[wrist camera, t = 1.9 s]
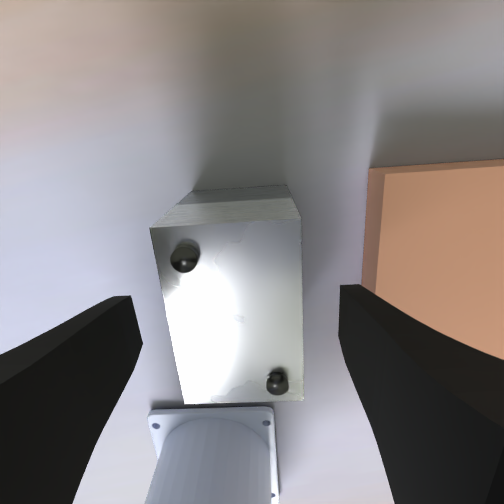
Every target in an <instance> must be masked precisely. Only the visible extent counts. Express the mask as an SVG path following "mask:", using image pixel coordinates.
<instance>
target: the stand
mask: <svg viewBox="0 0 504 504" xmlns="http://www.w3.org/2000/svg"><path fill="white" fill-rule="evenodd" d="M361 286H363V287H365V288H366V289H368V290H369V291H371V292H373V293H374V294H376V295H377V296H379V297H380V298H382V299H383V300H385V301H387V302H388V303H390V304H391V305H393V306H394V307H396V308H398V309H399V310H401V311H403V312H404V313H406V314H408V315H409V316H411V317H413V318H414V319H416V320H418V321H420V322H422V323H423V324H425V325H427V326H429V327H431V328H433V329H434V330H436V331H438V332H440V333H442V334H444V335H446V336H449V337H451V338H453V339H455V340H457V341H459V342H462V343H464V344H466V345H468V346H470V347H473V348H475V349H477V350H480V351H482V352H485V353H487V354H490V355H492V356H495V357H498V358H500V359H503V360H504V159H495V160H481V161H466V162H452V163H438V164H423V165H409V166H395V167H380V168H369V174H368V190H367V206H366V221H365V237H364V253H363V268H362V284H361Z"/></svg>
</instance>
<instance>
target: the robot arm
mask: <svg viewBox="0 0 504 504" xmlns="http://www.w3.org/2000/svg"><path fill="white" fill-rule="evenodd" d="M338 336H339V340H340V344H341V348H342V352H343V356H344V360H345V363H346V366H347V368H348V371H349V373H350V376H351V378H352V381H353V383H354V386H355V388H356V390H357V393H358V395H359V398H360V400H361V403H362V405H363V408H364V410H365V412H366V415H367V417H368V420H369V422H370V425H371V427H372V430H373V433H374V436H375V438H376V441H377V445H378V448H379V451H380V455H381V458H382V461H383V465H384V468H385V471H386V475H387V478H388V482H389V485H390V489H391V492H392V496H393V499H394V503H395V504H504V360H503V359H500V358H498V357H495V356H492V355H490V354H487V353H485V352H482V351H480V350H477V349H475V348H473V347H470V346H468V345H466V344H464V343H462V342H459V341H457V340H455V339H453V338H451V337H449V336H446V335H444V334H442V333H440V332H438V331H436V330H434V329H433V328H431V327H429V326H427V325H425V324H423V323H422V322H420V321H418V320H416V319H414V318H413V317H411V316H409V315H408V314H406V313H404V312H403V311H401V310H399V309H398V308H396V307H394V306H393V305H391V304H390V303H388V302H387V301H385V300H383V299H382V298H380V297H379V296H377V295H376V294H374V293H373V292H371V291H369V290H368V289H366V288H365V287H363V286H361V285H359V284H354V285H340V305H339V332H338ZM142 345H143V342H142V338H141V334H140V330H139V326H138V322H137V318H136V314H135V310H134V306H133V302H132V298H131V296H114V297H111V298H109V299H106V300H104V301H102V302H100V303H98V304H96V305H95V306H93V307H91V308H89V309H87V310H85V311H84V312H82V313H80V314H78V315H76V316H75V317H73V318H71V319H69V320H67V321H66V322H64V323H62V324H60V325H58V326H57V327H55V328H53V329H51V330H49V331H47V332H45V333H43V334H41V335H39V336H37V337H35V338H34V339H32V340H30V341H28V342H26V343H24V344H22V345H20V346H18V347H16V348H14V349H11V350H9V351H7V352H5V353H3V354H1V355H0V504H72V503H73V500H74V498H75V495H76V492H77V490H78V487H79V484H80V482H81V479H82V477H83V474H84V472H85V469H86V467H87V464H88V462H89V459H90V457H91V455H92V452H93V450H94V447H95V445H96V443H97V441H98V439H99V437H100V434H101V432H102V430H103V428H104V427H105V425H106V423H107V421H108V419H109V417H110V415H111V413H112V411H113V409H114V407H115V405H116V404H117V402H118V400H119V398H120V396H121V394H122V392H123V390H124V388H125V386H126V384H127V382H128V380H129V378H130V377H131V374H132V372H133V370H134V368H135V365H136V363H137V360H138V357H139V354H140V351H141V348H142ZM265 420H267V421H265ZM147 421H148V425H149V429H150V433H151V436H152V440H153V444H154V447H155V451H156V455H157V459H158V462H157V466H156V469H155V472H154V475H153V478H152V482H151V485H150V488H149V491H148V494H147V497H146V501H145V504H279V487H278V472H277V456H276V440H275V424H274V411H273V409H272V408H270V407H266V406H263V407H229V408H195V409H161V410H152V411H150V412H149V414H148V417H147Z"/></svg>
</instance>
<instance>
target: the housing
mask: <svg viewBox="0 0 504 504" xmlns="http://www.w3.org/2000/svg"><path fill="white" fill-rule="evenodd" d="M149 229H150V234H151V239H152V244H153V249H154V254H155V259H156V264H157V269H158V274H159V279H160V284H161V289H162V293H163V298H164V303H165V308H166V313H167V318H168V323H169V328H170V333H171V338H172V343H173V348H174V353H175V358H176V363H177V368H178V373H179V378H180V383H181V388H182V393H183V398H184V403H185V404H205V403H239V402H273V401H304V375H303V305H302V236H301V217H300V215H299V212H298V210H297V208H296V206H295V203H294V201H293V199H292V196H291V194H290V192H289V190H288V187H287V185H277V186H262V187H247V188H232V189H217V190H202V191H191V192H190V193H189V194H188V195H187V196H185V197H184V198H183V199H182V200H181V201H180V202H179V203H177V204H176V205H175V206H174V207H173V208H172V209H170V210H169V211H168V212H167V213H166V214H165V215H164V216H162V217H161V218H160V219H159V220H158V221H157V222H155V223H154V224H153V225H152V226H151V227H150V228H149Z"/></svg>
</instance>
